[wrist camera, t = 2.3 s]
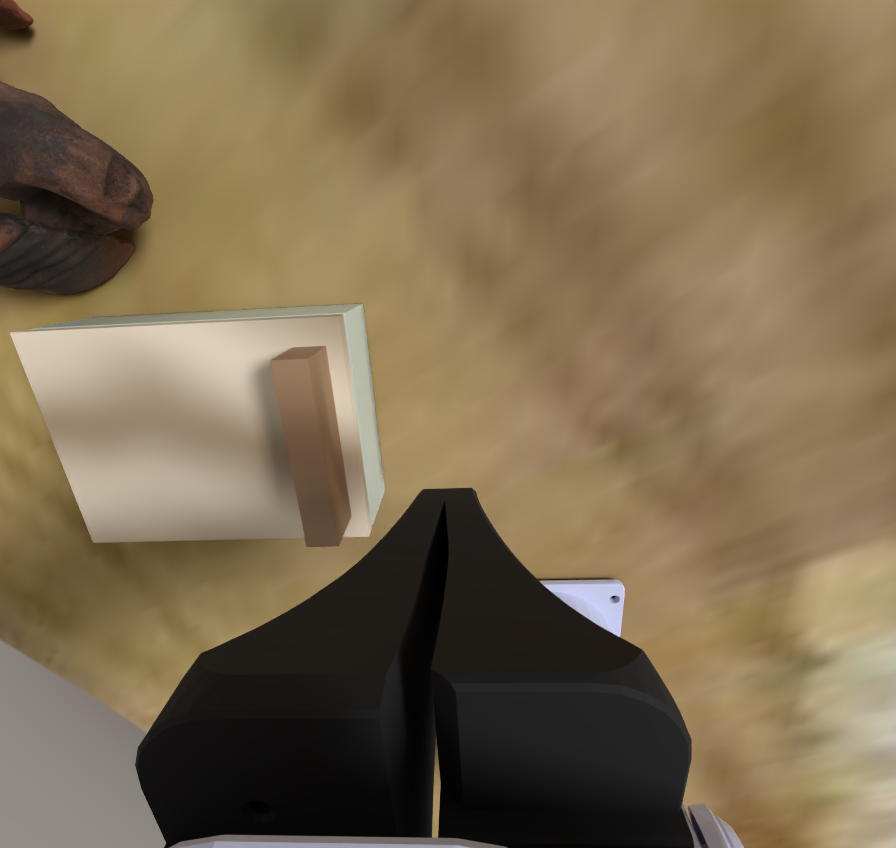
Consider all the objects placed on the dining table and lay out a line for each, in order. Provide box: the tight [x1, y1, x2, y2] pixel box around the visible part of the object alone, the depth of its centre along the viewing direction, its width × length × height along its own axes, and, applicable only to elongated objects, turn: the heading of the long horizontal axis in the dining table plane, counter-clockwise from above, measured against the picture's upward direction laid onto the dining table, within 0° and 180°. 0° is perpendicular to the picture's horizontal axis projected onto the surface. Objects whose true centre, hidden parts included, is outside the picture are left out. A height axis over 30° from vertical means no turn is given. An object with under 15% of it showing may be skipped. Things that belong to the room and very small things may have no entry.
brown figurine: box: [0, 0, 153, 295], centre depth 15 cm, size 12×10×8 cm
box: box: [32, 303, 385, 524], centre depth 20 cm, size 9×12×3 cm
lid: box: [10, 314, 372, 547], centre depth 17 cm, size 9×12×3 cm
